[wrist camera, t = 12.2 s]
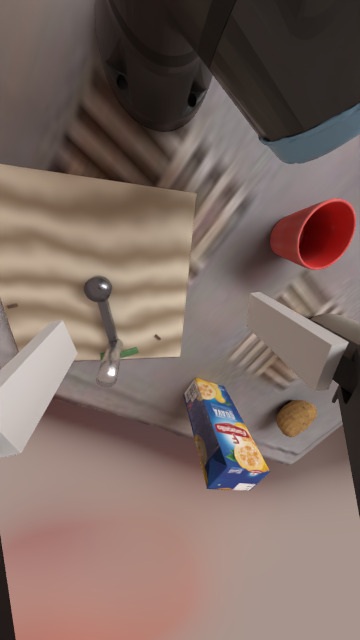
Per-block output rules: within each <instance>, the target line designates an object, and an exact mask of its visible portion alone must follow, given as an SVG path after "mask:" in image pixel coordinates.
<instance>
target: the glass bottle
mask: <svg viewBox="0 0 360 640" xmlns="http://www.w3.org/2000/svg"><path fill="white" fill-rule="evenodd" d="M310 320H313V321H316V322H318V323H320V324H322V325H323V326H325V327H327V328H329V329H331V330H332V331H334V332H336V333H338V334H340V335H342V336H343V337H345V338H347V339H349V340H351V341H352V342H354V343H356V344H358V345H360V323H359V322H357V321H354V320H352V319H349V318H346V317H343V316H340V315H336V314H321V315H317V316H315V317H313V318H311V319H310Z"/></svg>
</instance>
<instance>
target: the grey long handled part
mask: <svg viewBox="0 0 360 640" xmlns="http://www.w3.org/2000/svg"><path fill="white" fill-rule="evenodd" d="M84 293H85V295H86V296H87V298H88V299H90V300H91V301H94V302H97V303H98V306H99V310H100V313H101V317H102V320H103V323H104V327H105V330H106V334H107V337H108V341H109V342H108V345H107V348H106V351H105V354H104V357H103V360H102V363H101V366H100V369H99V372H98V375H97V378H96V382H97V384H98V385H100V386H102V387H111V386H113V385H114V384H115V383H116V381H117V375H118V370H119V365H120V359H121V354H122V349H123V342H122V341H121V340H120V339H118V337H117V333H116V329H115V325H114V321H113V317H112V314H111V310H110V306H109V302H108V298H109V296H110V294H111V293H112V284H111V282H110V281H109V280H108V279H107V278H105V277H103V276H94V277H92V278H91V279H89V280H88V281H87V282H86V283H85V285H84Z"/></svg>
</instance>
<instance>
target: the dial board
mask: <svg viewBox="0 0 360 640" xmlns="http://www.w3.org/2000/svg"><path fill="white" fill-rule="evenodd" d="M196 194H197V193H191V192H184V191H177V190H171V189H164V188H157V187H151V186H144V185H137V184H131V183H124V182H117V181H111V180H104V179H97V178H91V177H84V176H77V175H71V174H64V173H57V172H51V171H44V170H37V169H31V168H24V167H17V166H10V165H4V164H0V298H1V301H2V304H3V307H4V310H5V313H6V316H7V319H8V322H9V325H10V328H11V331H12V333H13V336H14V339H15V342H16V345H17V348H18V351H19V352H20V351H21V350H22V349H23V348H24V347H25V346H26V345H27V344H28V343H29V342H30V341H31V340H32V339H33V338H34V337H35V336H36V335H38V334H39V333H40V332H41V331H42V330H43V329H44V328H45V327H46V326H47V325H48V324H49V323H50V322H54V321H61V320H63V322H64V324H65V326H66V329H67V331H68V333H69V335H70V337H71V340H72V342H73V344H74V346H75V348H76V351H77V355H76V357H75V359H74V361H80V360H103V357H104V354H105V351H106V348H107V345H108V342H109V341H108V337H107V334H106V330H105V327H104V323H103V320H102V317H101V313H100V310H99V306H98V303H97V302H94V301H91V300H90V299H88V298H87V296H86V295H85V293H84V285H85V283H86V282H87V281H88V280H89V279H91V278H92V277H94V276H103V277H105V278H107V279H108V280H109V281H110V282H111V284H112V293H111V294H110V296H109V298H108V302H109V306H110V310H111V314H112V317H113V321H114V325H115V329H116V333H117V337H118V339H120V340H121V341H122V342H123V349H122V354H121V359H130V358H154V357H179V356H180V350H181V340H182V331H183V321H184V311H185V301H186V292H187V282H188V272H189V262H190V253H191V243H192V233H193V223H194V214H195V204H196Z"/></svg>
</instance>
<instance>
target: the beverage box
mask: <svg viewBox="0 0 360 640" xmlns="http://www.w3.org/2000/svg"><path fill="white" fill-rule="evenodd" d="M184 399H185V402H186V406H187V410H188V414H189V418H190V422H191V426H192V430H193V434H194V438H195V442H196V446H197V450H198V454H199V458H200V462H201V466H202V470H203V474H204V478H205V482H206V486H207V489H221V490H241V491H250V490H251V489H252V488H253V487H254V486H255V485H256V484H257V483H258V482H260V481H261V480H262V479H263V478H264V477H265V476H266V475H267V474H268V473H269V472H270V471H269V469H268V467H267V465H266V463H265V462H264V459H263V458H262V456H261V454H260V452H259V450H258V448H257V446H256V445H255V443H254V441H253V439H252V437H251V435H250V433H249V432H248V430H247V428H246V426H245V424H244V422H243V420H242V418H241V417H240V415H239V413H238V411H237V409H236V407H235V405H234V404H233V402H232V400H231V398H230V396H229V394H228V392H227V391H226V389H225V387H223V386H220V385H217V384H214V383H210V382H207V381H204V380H201V379H198V378H195V379H194V380H193V382H192V383H191V385H190V386H189V388H188V389H187V390H186V392H185V393H184Z"/></svg>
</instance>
